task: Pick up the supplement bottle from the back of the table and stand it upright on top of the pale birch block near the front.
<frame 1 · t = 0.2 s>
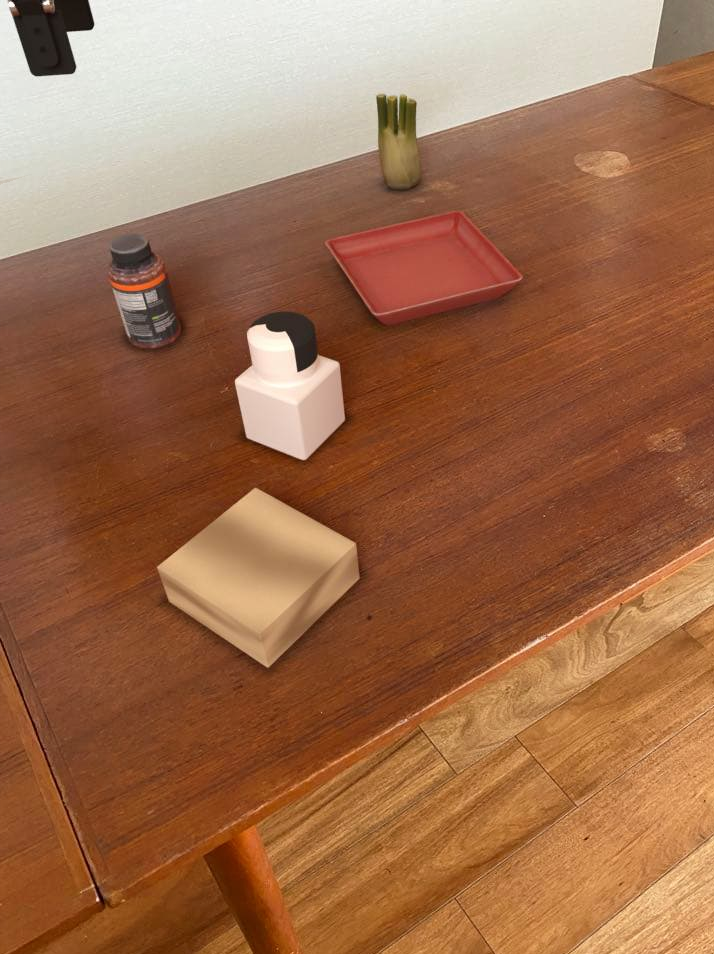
hand: (65, 50, 66), 32 cm above the table, tool pointing down, fingers open, 9 cm apart
fennel bulb: (401, 187, 121), on the table
medicine bottle: (296, 431, 85), on the table
block: (265, 591, 71), on the table
supplement bottle: (156, 337, 97), on the table
plant saucer: (421, 284, 103), on the table
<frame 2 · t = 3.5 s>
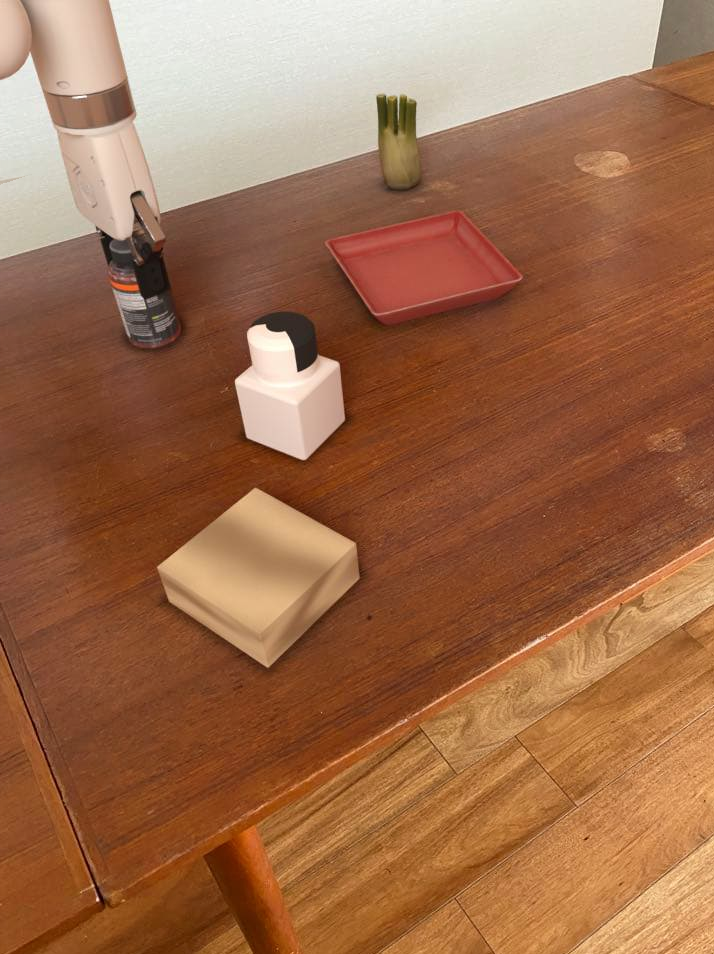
hand: (140, 279, 91), 7 cm above the table, tool pointing down, fingers closed on supplement bottle, 6 cm apart
supplement bottle: (156, 337, 97), on the table, touching gripper
everything else where it was.
when the fingers open (11 cm above the table, at t = 11.8 s): supplement bottle stays where it is, resting on block.
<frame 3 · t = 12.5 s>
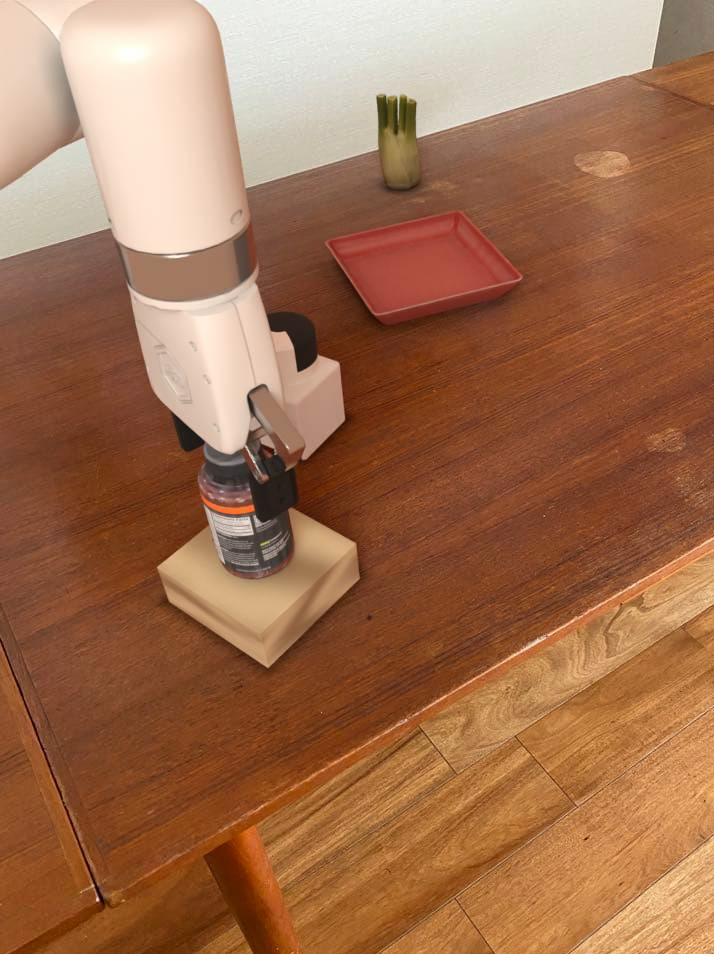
hand: (238, 475, 61), 13 cm above the table, tool pointing down, fingers open, 9 cm apart
block: (265, 591, 71), on the table, touching supplement bottle
supplement bottle: (258, 556, 68), point 4 cm above the table, touching block
everything else where it was.
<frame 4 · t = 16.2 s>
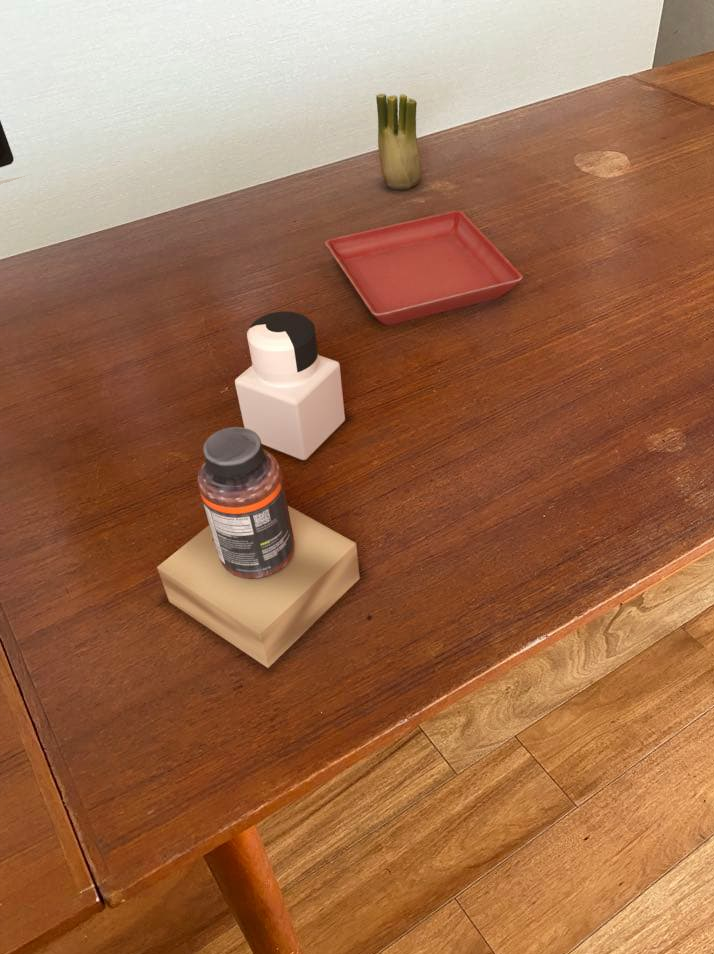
nothing on the table moved.
at the end: supplement bottle inside the target area on the block (0.1 cm from its centre), point 4.3 cm above the block's base; supplement bottle tilted 0°; the gripper is holding nothing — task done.
